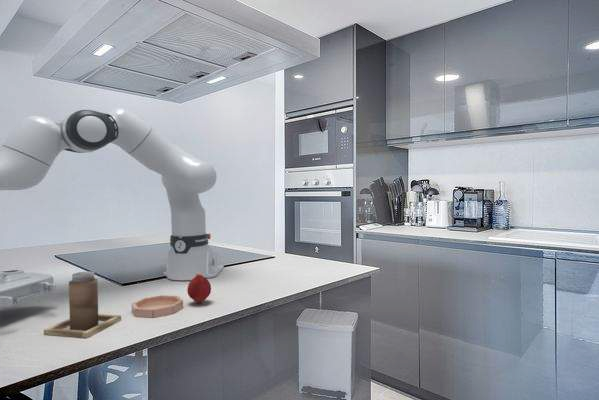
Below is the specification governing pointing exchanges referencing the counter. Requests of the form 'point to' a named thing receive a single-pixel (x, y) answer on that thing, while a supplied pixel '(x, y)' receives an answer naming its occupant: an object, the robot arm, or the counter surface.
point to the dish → (157, 306)
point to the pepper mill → (83, 301)
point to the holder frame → (58, 330)
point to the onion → (199, 288)
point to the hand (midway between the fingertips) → (34, 294)
